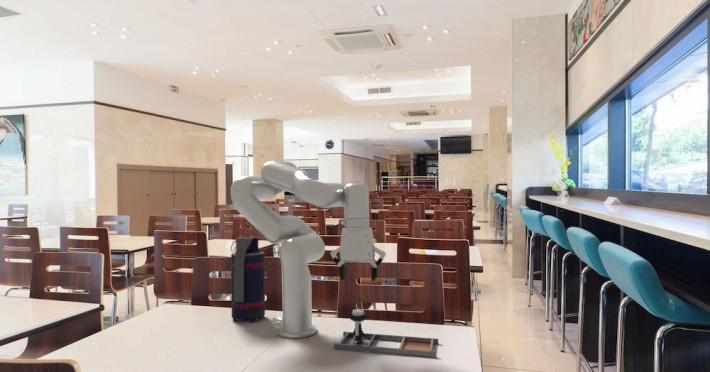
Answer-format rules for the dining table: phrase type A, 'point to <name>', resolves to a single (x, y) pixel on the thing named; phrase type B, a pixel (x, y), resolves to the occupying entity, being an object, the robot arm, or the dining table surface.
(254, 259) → the grenade
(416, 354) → the divided tray
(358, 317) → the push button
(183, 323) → the dining table surface
